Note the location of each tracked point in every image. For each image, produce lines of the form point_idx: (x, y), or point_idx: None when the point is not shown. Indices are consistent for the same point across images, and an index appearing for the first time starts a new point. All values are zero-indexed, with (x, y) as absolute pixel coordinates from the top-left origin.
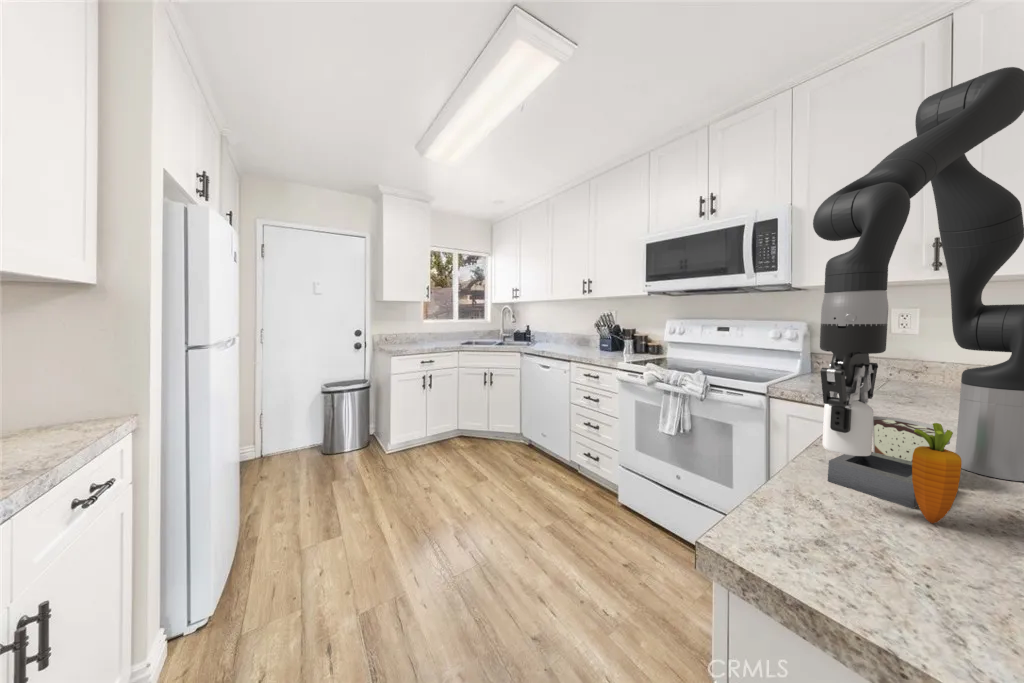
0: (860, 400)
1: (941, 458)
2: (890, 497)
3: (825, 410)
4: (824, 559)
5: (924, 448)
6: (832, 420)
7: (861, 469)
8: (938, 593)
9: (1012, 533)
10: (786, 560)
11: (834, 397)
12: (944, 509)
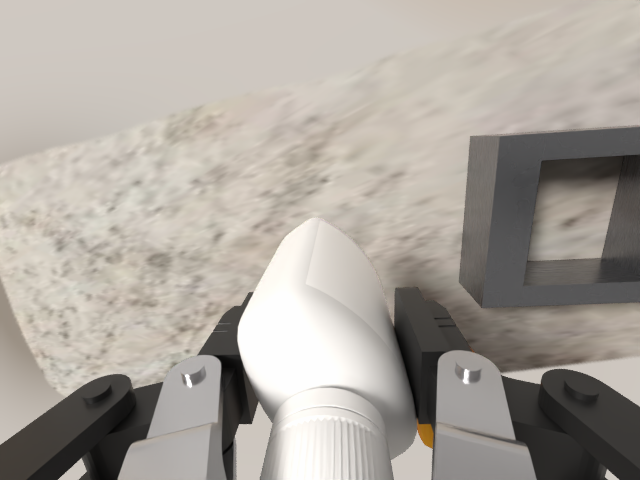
0: (433, 436)
1: (423, 438)
2: (465, 253)
3: (262, 293)
4: (121, 283)
5: None
6: (217, 326)
7: (492, 214)
8: None
9: None
10: (61, 261)
11: (88, 463)
12: None
